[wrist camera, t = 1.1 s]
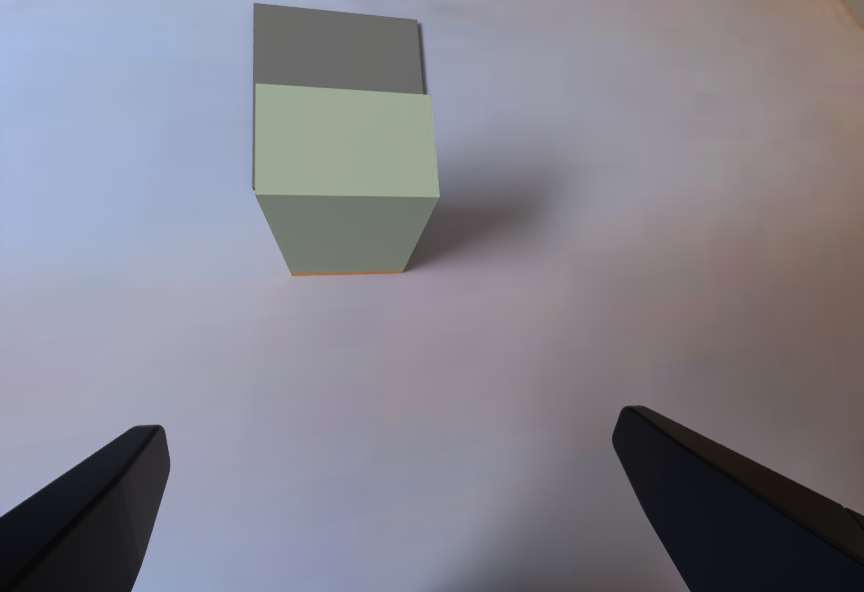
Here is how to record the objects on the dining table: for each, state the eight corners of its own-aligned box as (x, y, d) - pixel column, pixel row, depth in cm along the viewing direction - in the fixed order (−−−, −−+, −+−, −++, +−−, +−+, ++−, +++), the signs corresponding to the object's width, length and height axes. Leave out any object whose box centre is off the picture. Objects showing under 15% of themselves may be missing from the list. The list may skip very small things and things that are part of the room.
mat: (430, 192, 26) (431, 190, 25) (253, 189, 24) (252, 187, 23) (416, 23, 28) (417, 20, 28) (254, 7, 26) (253, 3, 26)
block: (402, 273, 24) (439, 197, 15) (292, 275, 23) (254, 194, 13) (397, 207, 25) (430, 94, 15) (291, 206, 24) (255, 83, 14)
